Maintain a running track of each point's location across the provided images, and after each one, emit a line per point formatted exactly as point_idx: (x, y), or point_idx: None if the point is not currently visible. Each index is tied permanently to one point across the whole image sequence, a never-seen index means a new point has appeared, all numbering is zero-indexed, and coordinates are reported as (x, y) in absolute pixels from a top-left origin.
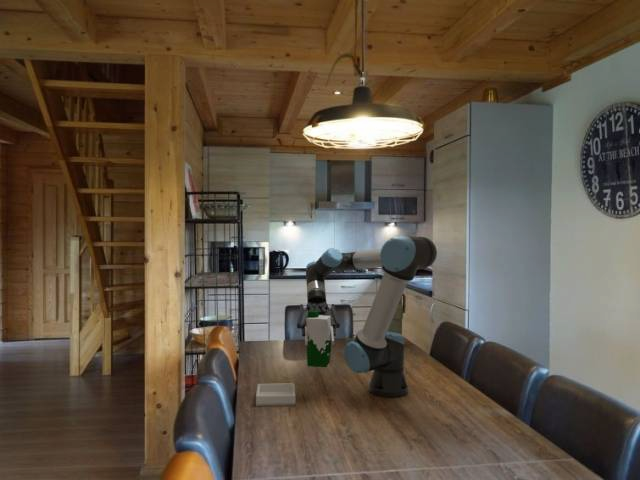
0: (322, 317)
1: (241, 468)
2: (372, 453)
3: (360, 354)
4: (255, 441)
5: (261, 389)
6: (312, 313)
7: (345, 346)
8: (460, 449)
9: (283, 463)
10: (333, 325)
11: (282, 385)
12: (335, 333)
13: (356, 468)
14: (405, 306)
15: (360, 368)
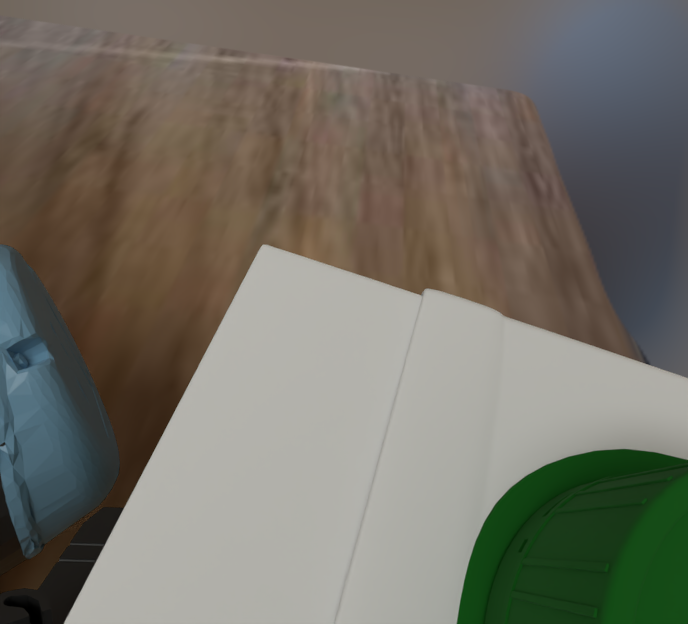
0: (340, 502)
1: (529, 107)
2: (244, 110)
3: (28, 269)
4: (529, 196)
5: None
6: None
7: (73, 419)
8: (16, 93)
9: (447, 109)
10: (45, 616)
11: None
12: (103, 511)
13: (299, 74)
14: None
15: (72, 338)
